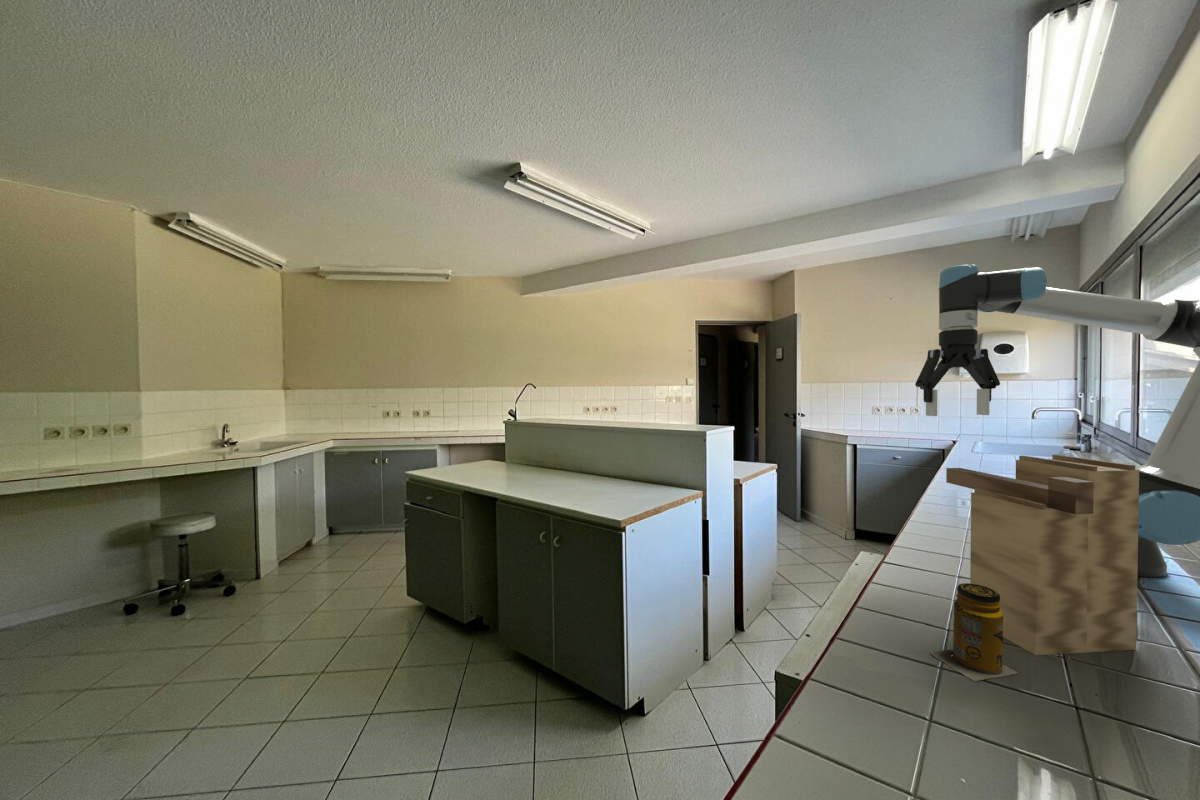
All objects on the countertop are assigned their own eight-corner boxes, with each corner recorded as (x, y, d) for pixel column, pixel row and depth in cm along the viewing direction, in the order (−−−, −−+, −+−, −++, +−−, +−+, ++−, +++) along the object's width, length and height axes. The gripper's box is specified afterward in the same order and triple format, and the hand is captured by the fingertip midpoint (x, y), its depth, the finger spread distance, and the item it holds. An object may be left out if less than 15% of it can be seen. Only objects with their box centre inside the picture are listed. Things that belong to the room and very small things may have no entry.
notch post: (1057, 613, 87) (1059, 454, 86) (1136, 649, 75) (1139, 465, 74) (970, 618, 85) (971, 456, 85) (1035, 655, 73) (1037, 467, 73)
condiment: (1018, 673, 69) (1019, 596, 69) (974, 682, 67) (975, 603, 67) (969, 647, 76) (970, 577, 76) (929, 654, 74) (929, 582, 74)
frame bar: (959, 482, 94) (960, 458, 94) (1093, 513, 70) (1093, 481, 70) (946, 482, 94) (946, 458, 94) (1075, 514, 70) (1075, 482, 70)
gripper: (922, 328, 107) (921, 417, 107) (1019, 327, 108) (1019, 415, 109) (898, 332, 114) (898, 415, 115) (990, 331, 116) (990, 413, 116)
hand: (957, 415), depth 112 cm, fingers open, 13 cm apart
